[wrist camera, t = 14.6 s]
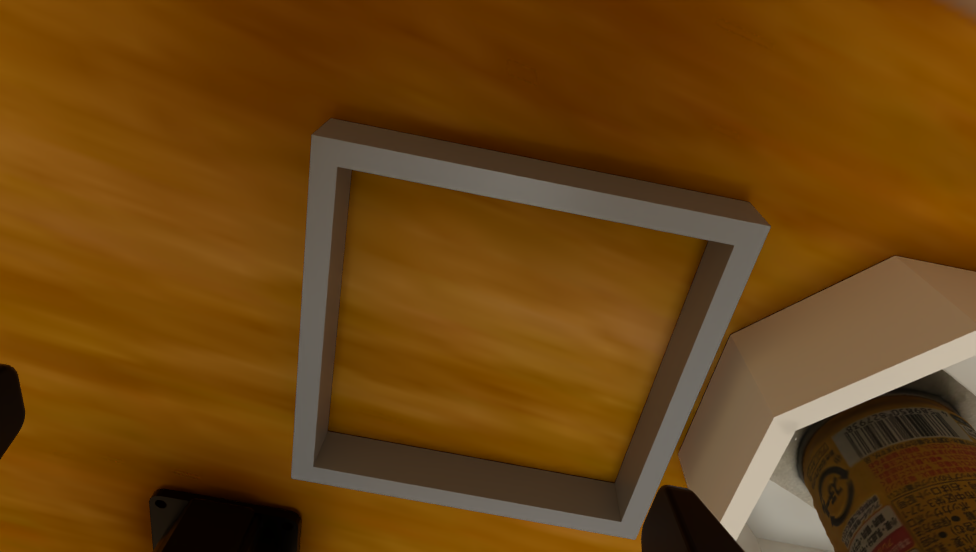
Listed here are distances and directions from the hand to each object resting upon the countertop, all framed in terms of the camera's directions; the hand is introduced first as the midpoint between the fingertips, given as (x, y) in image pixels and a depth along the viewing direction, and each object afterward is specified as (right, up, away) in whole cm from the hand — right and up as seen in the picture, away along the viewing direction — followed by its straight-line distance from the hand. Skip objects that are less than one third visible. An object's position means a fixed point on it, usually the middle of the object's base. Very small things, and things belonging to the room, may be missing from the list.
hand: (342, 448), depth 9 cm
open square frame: (+2, 0, +14) cm, 15 cm away
